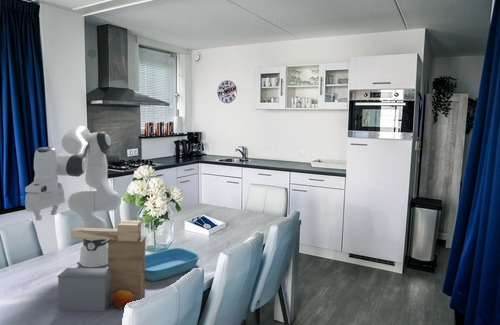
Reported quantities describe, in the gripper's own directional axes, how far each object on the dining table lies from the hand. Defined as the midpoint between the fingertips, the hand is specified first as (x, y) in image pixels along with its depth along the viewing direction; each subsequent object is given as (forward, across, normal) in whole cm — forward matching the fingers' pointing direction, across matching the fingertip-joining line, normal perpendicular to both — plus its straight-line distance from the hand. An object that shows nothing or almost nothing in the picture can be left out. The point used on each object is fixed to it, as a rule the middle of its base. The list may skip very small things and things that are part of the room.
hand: (46, 217), depth 155 cm
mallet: (+8, -3, +25) cm, 27 cm away
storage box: (+34, +6, +22) cm, 41 cm away
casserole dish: (+34, -35, +41) cm, 64 cm away
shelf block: (+34, -5, +34) cm, 48 cm away
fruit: (+35, +3, +36) cm, 50 cm away
